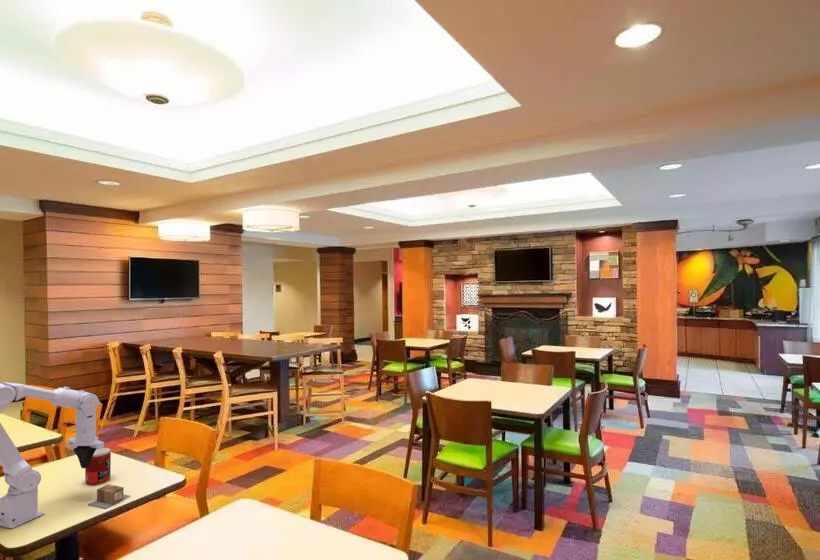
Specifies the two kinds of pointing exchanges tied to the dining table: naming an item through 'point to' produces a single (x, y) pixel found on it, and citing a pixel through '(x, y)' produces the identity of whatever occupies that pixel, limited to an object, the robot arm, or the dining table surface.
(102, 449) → the canned food
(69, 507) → the dining table surface
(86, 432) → the robot arm
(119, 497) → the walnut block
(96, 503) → the felt mat
